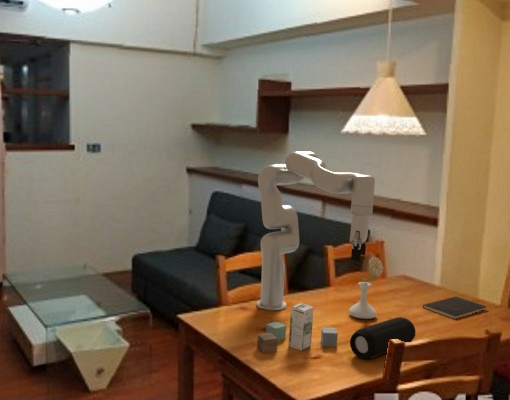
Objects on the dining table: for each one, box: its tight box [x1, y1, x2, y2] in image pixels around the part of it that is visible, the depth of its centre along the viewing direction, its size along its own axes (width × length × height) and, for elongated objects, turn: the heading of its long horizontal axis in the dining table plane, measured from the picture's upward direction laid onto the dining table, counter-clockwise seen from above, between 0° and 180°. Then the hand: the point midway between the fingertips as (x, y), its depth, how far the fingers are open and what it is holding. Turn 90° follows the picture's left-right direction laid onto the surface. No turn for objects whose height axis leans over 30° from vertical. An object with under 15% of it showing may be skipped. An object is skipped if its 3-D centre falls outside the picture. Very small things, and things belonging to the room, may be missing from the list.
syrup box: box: [288, 303, 314, 351], centre depth 183 cm, size 6×6×14 cm
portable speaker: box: [349, 316, 416, 360], centre depth 183 cm, size 26×10×10 cm, turn 128°
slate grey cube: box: [320, 327, 339, 348], centre depth 188 cm, size 5×5×5 cm
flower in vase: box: [348, 256, 384, 320], centre depth 215 cm, size 13×11×25 cm
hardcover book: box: [422, 296, 488, 320], centre depth 231 cm, size 16×23×2 cm
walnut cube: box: [256, 332, 278, 355], centre depth 180 cm, size 5×5×5 cm
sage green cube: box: [265, 321, 287, 342], centre depth 190 cm, size 5×5×5 cm
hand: (358, 257), depth 189 cm, fingers open, 9 cm apart
